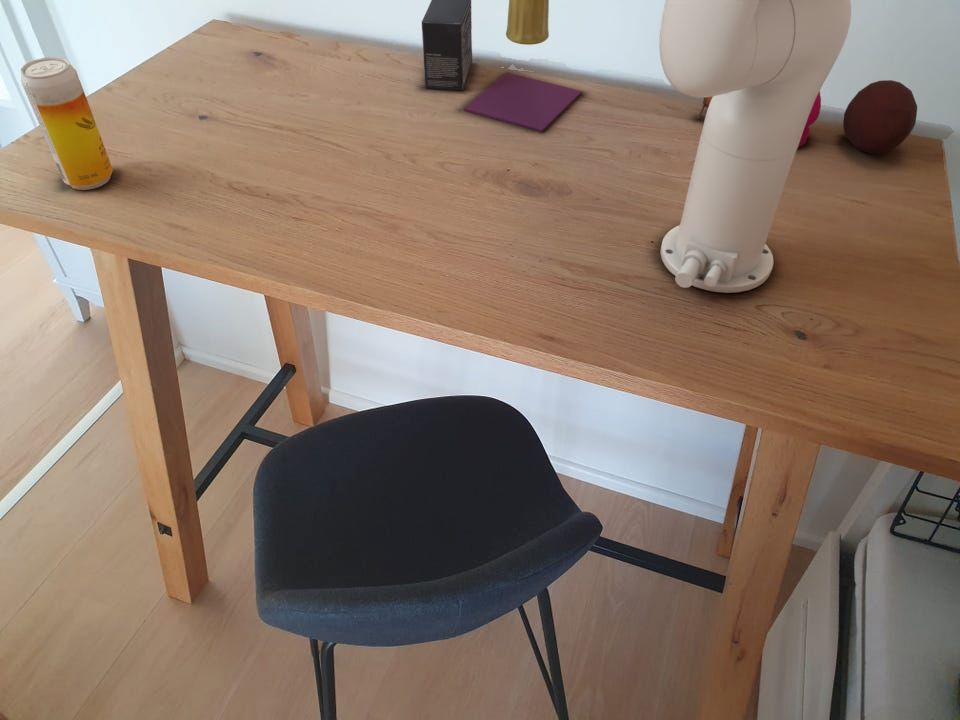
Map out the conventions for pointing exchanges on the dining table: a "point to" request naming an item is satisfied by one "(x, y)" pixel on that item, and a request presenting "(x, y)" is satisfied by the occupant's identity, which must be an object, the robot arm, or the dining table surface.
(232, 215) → the dining table surface
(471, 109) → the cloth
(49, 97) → the beer can
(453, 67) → the small box
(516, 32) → the vase
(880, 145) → the dark brown egg
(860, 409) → the dining table surface
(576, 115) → the dining table surface
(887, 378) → the dining table surface
